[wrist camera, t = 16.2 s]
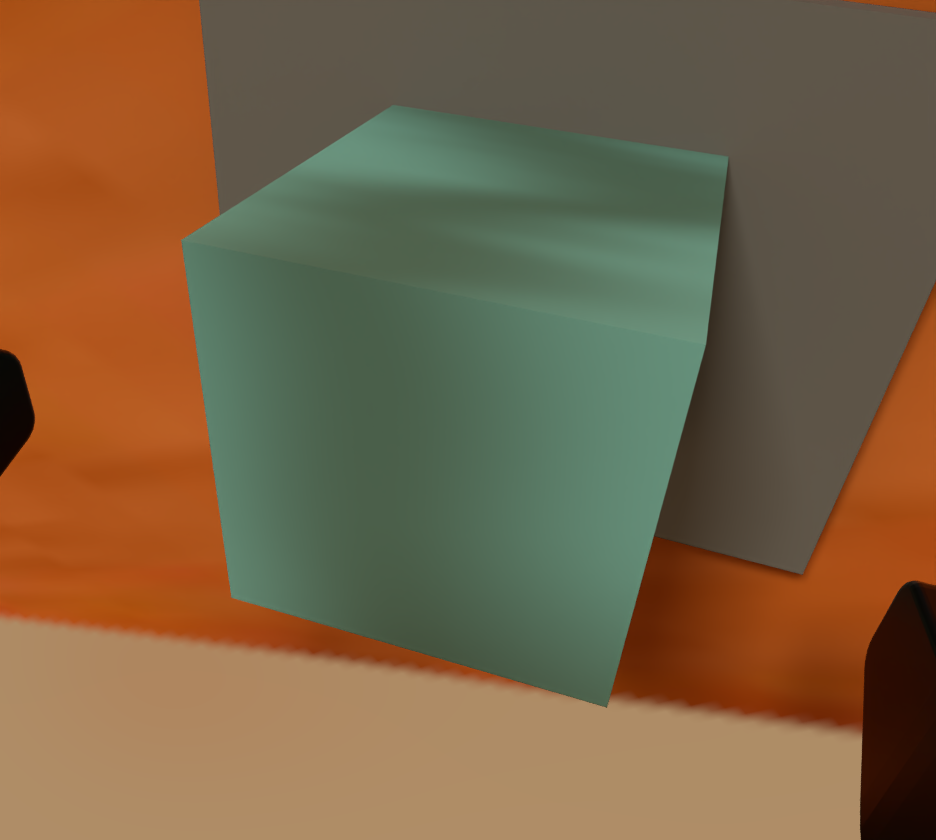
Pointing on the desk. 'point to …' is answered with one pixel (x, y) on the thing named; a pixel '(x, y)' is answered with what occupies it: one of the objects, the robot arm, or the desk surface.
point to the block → (457, 384)
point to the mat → (682, 127)
